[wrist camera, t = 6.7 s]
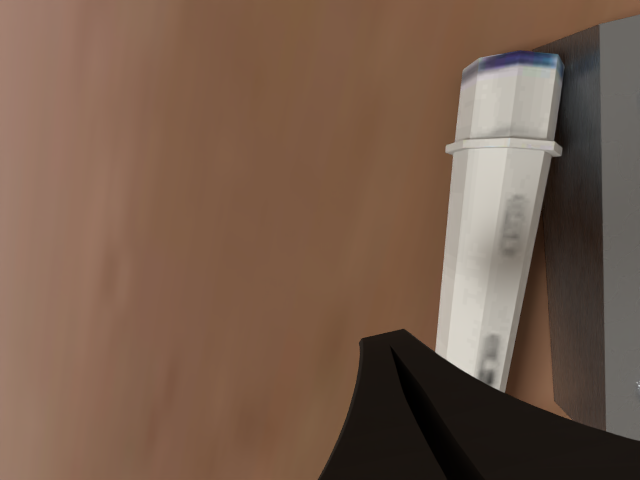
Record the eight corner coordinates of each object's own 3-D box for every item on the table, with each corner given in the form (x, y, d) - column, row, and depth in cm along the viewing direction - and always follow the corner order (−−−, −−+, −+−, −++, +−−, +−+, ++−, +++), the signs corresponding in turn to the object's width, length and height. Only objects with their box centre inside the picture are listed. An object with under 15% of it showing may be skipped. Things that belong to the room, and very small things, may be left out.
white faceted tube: (610, 55, 14) (520, 622, 17) (510, 99, 21) (458, 502, 24) (477, 42, 14) (410, 623, 17) (418, 90, 20) (378, 502, 23)
